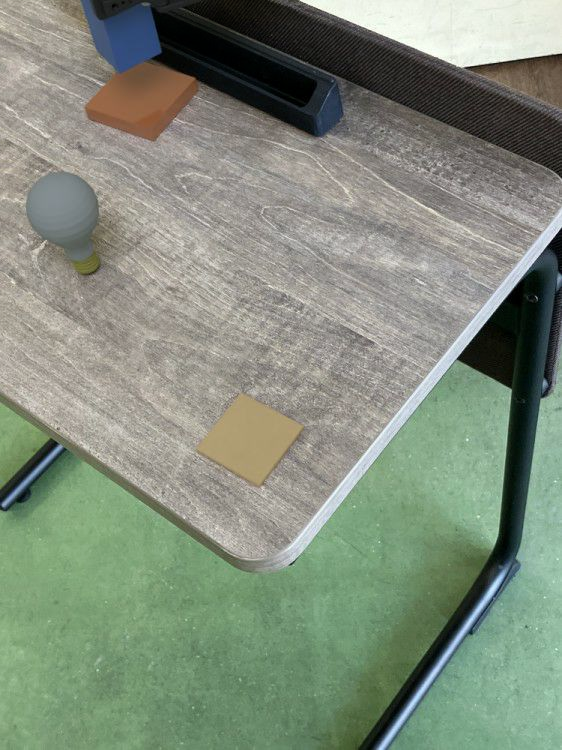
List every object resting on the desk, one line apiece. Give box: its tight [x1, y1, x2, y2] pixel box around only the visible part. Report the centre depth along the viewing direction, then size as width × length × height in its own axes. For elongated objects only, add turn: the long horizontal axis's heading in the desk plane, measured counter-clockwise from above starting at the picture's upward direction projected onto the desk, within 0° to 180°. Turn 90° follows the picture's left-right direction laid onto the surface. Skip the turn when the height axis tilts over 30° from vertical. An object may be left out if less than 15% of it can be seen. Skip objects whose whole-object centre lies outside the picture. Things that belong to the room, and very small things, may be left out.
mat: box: [195, 392, 305, 488], centre depth 68 cm, size 6×6×1 cm
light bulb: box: [25, 171, 100, 275], centre depth 75 cm, size 5×6×10 cm
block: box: [80, 0, 163, 74], centre depth 81 cm, size 4×4×9 cm
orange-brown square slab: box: [84, 61, 199, 142], centre depth 90 cm, size 8×8×2 cm
